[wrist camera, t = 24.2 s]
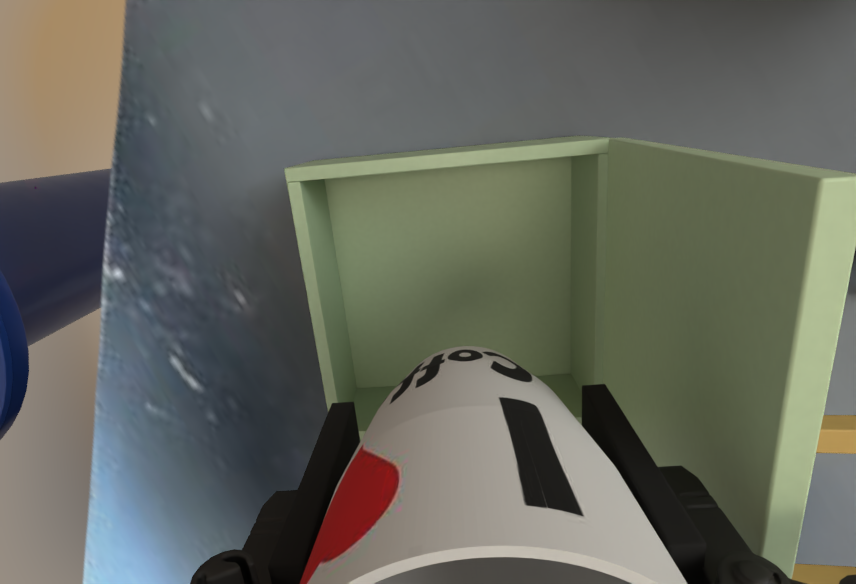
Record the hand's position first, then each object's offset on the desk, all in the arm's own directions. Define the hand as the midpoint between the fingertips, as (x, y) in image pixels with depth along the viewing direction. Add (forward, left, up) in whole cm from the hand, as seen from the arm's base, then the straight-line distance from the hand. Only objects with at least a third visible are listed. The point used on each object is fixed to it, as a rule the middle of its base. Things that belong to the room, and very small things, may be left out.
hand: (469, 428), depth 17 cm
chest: (0, -1, -21) cm, 21 cm away
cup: (0, 0, -1) cm, 1 cm away
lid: (+8, -1, -4) cm, 9 cm away
